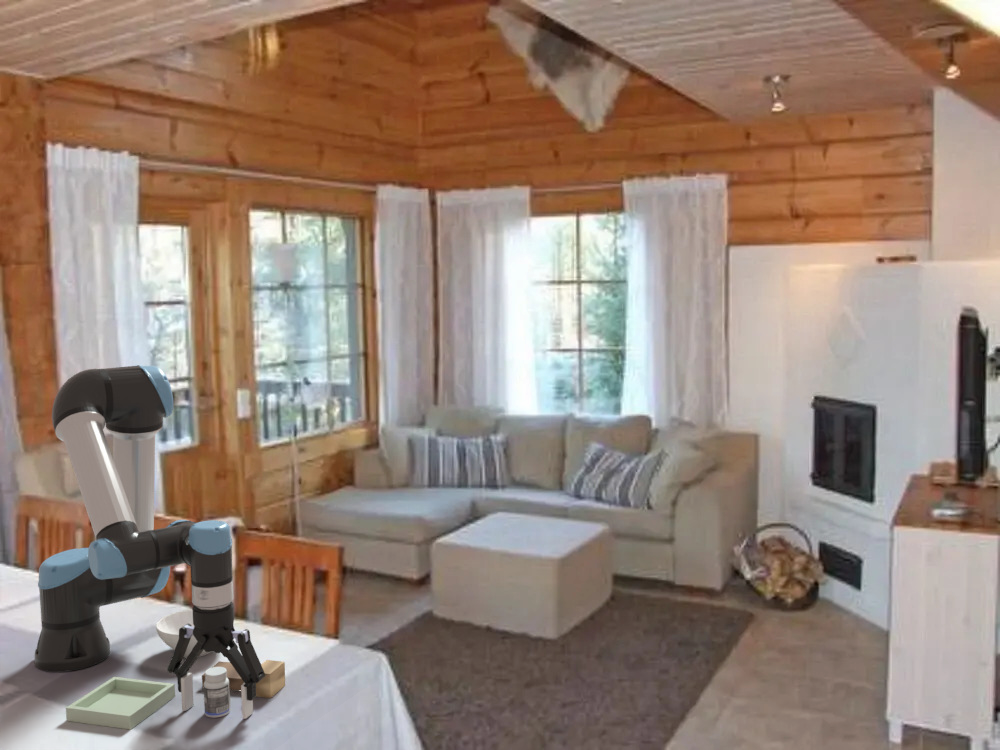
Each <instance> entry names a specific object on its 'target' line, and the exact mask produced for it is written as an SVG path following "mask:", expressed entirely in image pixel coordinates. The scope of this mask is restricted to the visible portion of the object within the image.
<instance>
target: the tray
mask: <svg viewBox="0 0 1000 750" xmlns="http://www.w3.org/2000/svg"><path fill="white" fill-rule="evenodd" d="M175 686H176V684H175V683H170V682H161V681H153V680H144V679H136V678H129V677H127V678H126V677H120V676H113V677H111V678H110V679H109V680H107V681H105V682H104V683H102V684H101V685H99V686H97V687H95V688H94V689H93V690H91V691H90V692H88V693H86V694H85V695H83V696H82V697H80V698H78V699H77V700H75V701H74V702H72V703H71V704H70V705H68V706H65V715H66V716H65V717H66V722H74V723H81V724H88V725H93V726H102V727H109V728H117V729H123V730H132V729H133V728H135V727H136V726H137V725H139V724H140V723H141V722H143V721H144V720H146V719H147V718H148V717H150V716H151V715H152V714H154V713H155V712H156V711H158V710H160V708H162V707H163V706H165V704H167V703H168V702H170V701H171V700H173V699H174V698H175V697H176V687H175Z"/></svg>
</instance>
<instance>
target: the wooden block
mask: <svg viewBox="0 0 1000 750" xmlns="http://www.w3.org/2000/svg"><path fill="white" fill-rule="evenodd" d="M261 666H262V668H263V670H264V673H265V677H264V678H263V679H262V680H260V681H259V682H258V683H256V697H259V698H268V699H272V698H273V697H274V696H275V695H276V694H278V693H279V691H280V690H283V688H284V687H285V686H286V672H285V671H286V669H285V668H286V667H285V661H281V660H271V659H266V660H265V661H263V662H262V663H261Z"/></svg>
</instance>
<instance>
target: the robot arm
mask: <svg viewBox="0 0 1000 750" xmlns="http://www.w3.org/2000/svg"><path fill="white" fill-rule="evenodd" d="M56 393H57V394H56V396H55V397H54V398H55V399H54V401H53V405H52V410H51V421H52V427H53V430H54V433H55V437H56V438H57V439H58V440H60V441H62V442H63V443H64V446H65V449H66V452H67V455H68V458H69V461H70V464H71V468H72V471H73V473H74V476H75V478H76V482H77V485H78V488H79V491H80V493H81V498H82V501H83V503H84V504H83V505H84V506H85V509H86V512H87V515H88V516H87V517H88V519H89V521H90V524H91V527H92V530H93V533H94V536H95V540H93V541H91V542H90V544H89V546H88V547H81V548H73V549H72V548H71V549H67V550H63V551H61V552H58V553H55V554H53V555H51V556H49V557H47V558H46V559H44V561H42V563H41V564H40V566H39V568H38V583H37V586H38V589H39V602H40V603H39V605H40V606H39V607H40V622H41V631H40V633H39V638H38V641H37V643H36V644H37V645H36V649H35V651H34V665H35V667H36V668H37V669H39V670H40V671H43V672H50V673H51V672H55V673H61V672H64V673H65V672H71V671H77V670H82V669H85V668H89V667H92V666H95V665H97V664H99V663H101V662H103V661H105V660H106V659H107V658H108V657H109V656H110V654H111V644H110V640H109V638H108V637H107V634H106V631H105V629H104V627H103V624H102V622H101V615H100V607H103V606H107V605H108V606H109V605H112V604H117V603H121V602H126V601H130V600H135V599H139V598H142V599H144V598H146V597H148V596H150V595H154V594H158V593H160V592H161V591H162V590H163V589H164V588H165V587H166V585H167V583H168V580H169V578H170V574H171V573H170V572H171V567H174V566H178V565H181V564H186V565H188V566H189V567H190V582H191V583H190V584H191V602H192V604H193V607H192V610H193V624H194V626H195V627H192V626H191V624H189V623H188V624H186V625H185V626H183V627H181V628H180V629H179V640H178V642H177V645H176V648H175V650H173V653H172V656H171V658H170V661H169V665H168V666H167V673H169V674H175V676H176V677H177V679H176V680H177V690H178V692H179V693H180V694H181V695H180V696H181V711H182V712H186V711H188V710H189V709H190V708H191V707H193V706H194V703H195V702H194V686H193V683H194V682H193V680H194V679H193V672H189V671H190V670H191V668H192V666H193V665H194V663H195V662H196V661H197V660H198V658H199V655H200V654H201V653H202V651H203V650H205V652H210V653H216V654H222V656H223V657H224V658H227V660H228V662H230V663H231V664H232V666H233V667H234V669H235V670H236V671H237V673H238V674H239V676H240V677H241V678H242V680H243V681H244V683H243V684H242V685H241V691H240V692H241V693H240V694H241V714H242V715H241V717H242V719H245V720H246V719H247V718H249V717H250V715H252V714H253V713H254V701H253V700H254V699H256V697H257V696H256V683H258V682H259V681H260V680H262V679H263V678H264V677H265V673H264V670H263V668H262V666H261V664H262V663H261V661H260V659H259V657H258V655H257V652H256V650H255V647H254V645H253V643H252V641H251V632H250V630H249V629H248V628H245V629H244V630H242V631H241V630H235V626H234V622H235V604H234V602H233V600H234V579H233V556H232V555H233V552H232V550H233V549H232V548H233V547H232V546H233V538H232V535H231V534H232V533H231V527H230V525H229V524H228V523H227V522H226V521H223V520H217V519H216V520H214V519H212V520H203V521H199V522H195V521H191V520H187V519H177V520H175V521H172V522H171V523H170V524H168V525H167V526H166V527H162V528H156V529H154V528H155V527H154V526H155V523H154V522H155V472H156V471H155V469H156V468H155V467H156V464H155V463H156V462H155V461H156V456H155V455H156V453H155V452H156V434H157V433H158V432H160V431H161V430H162V429H163V426H164V425H163V423H164V422H163V421H164V419H165V418H168V417H170V416H171V415H172V413H173V410H174V396H173V391H172V387H171V384H170V382H169V379H168V377H167V375H166V373H165V372H164V371H163V369H161V368H160V367H158V366H156V365H140V364H139V365H137V364H136V365H131V366H119V367H117V366H116V367H108V368H105V367H104V368H89V369H88V368H87V369H85V370H82V371H79V372H78V373H76V374H74V375H73V374H72V376H71V377H70V378H68V379H67V380H65V382H64V383H63V384H62V385H61V387H60V388H59V389H58V392H56ZM104 428H106V430H107V431H108V432H109V433H110V434H111V435H112V436H113V440H112V441H113V443H112V446H113V448H112V451H113V453H111V450H110V449H111V448H110V447H109V444H108V441H107V438H106V434H105V431H104ZM112 454H113V455H112ZM193 635H194V637H195V638H196V640H197V641H198V642H197V643H196V645H195V646H194V647H193V649H192V651H191V653H190V654H189V655H188V657H187V658H185V657H184V655H185V652H186V649H187V647H188V644H189V642H190V639H191V636H193ZM234 639H235V641H234ZM228 647H229V648H228ZM184 658H185V659H184ZM183 660H184V661H183Z"/></svg>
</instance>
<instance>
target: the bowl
mask: <svg viewBox="0 0 1000 750" xmlns="http://www.w3.org/2000/svg"><path fill="white" fill-rule="evenodd" d="M188 623H189V624H191V626H192V627H195V626H194V624H193V610H192V609H185V610H181V611H176V612H174V613H171V614H168V615H166V616H164V617H162V618H161V619H160V620H158V621H157V622H156V624H155V625H156V626H155V629H156V632H157V635H158V637H159V638H160V639H161V640H162V641H163V643H164V644H165V645H166V646H168V647H169V648H170V649H172V650H173V651H174V650H175V648H176V645H177V642H178V640H179V629H180V628H181V627H183V626H185V625H186V624H188ZM197 642H198V641H197V640H196V638H195V637H194V635H193V636H191V639H190V642H189V644H188V647H187V649H186V652H185V655H184V657H183V658H185V659H186V658H187V657H188V655H189V654H190V653H191V651H192V649H193V647H194V646H195V645H196V643H197ZM210 653H211V652H205V650H203V651H202V653H201V654H200V655H199V657H203V656H207V655H209V654H210ZM206 654H207V655H206ZM199 657H198V658H199Z"/></svg>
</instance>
